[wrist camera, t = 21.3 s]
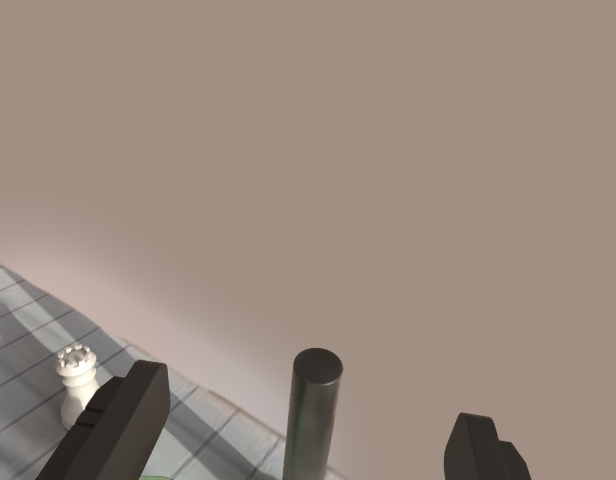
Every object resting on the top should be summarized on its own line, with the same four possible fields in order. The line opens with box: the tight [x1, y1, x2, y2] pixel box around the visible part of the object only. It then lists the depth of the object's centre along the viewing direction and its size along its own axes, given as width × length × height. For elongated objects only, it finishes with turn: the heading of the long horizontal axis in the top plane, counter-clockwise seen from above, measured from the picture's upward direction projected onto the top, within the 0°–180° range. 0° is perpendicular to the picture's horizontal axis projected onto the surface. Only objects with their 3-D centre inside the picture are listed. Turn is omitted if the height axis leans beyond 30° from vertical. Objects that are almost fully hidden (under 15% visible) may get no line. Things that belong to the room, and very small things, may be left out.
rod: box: [282, 348, 343, 480], centre depth 31 cm, size 4×4×18 cm
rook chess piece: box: [55, 344, 101, 430], centre depth 40 cm, size 4×4×8 cm
